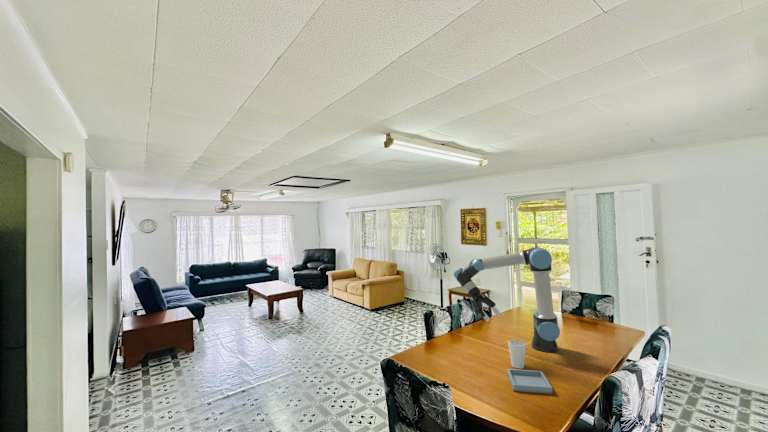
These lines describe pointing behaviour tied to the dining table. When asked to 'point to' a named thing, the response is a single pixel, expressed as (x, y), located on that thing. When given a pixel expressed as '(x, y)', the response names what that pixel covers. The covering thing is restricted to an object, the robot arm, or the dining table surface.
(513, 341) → the foam cup
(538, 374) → the tray
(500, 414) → the dining table surface
